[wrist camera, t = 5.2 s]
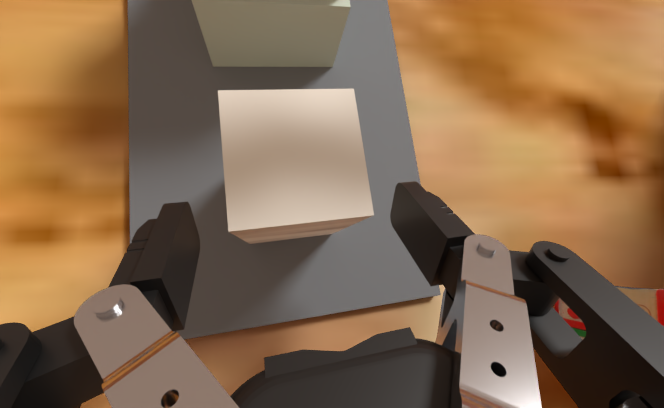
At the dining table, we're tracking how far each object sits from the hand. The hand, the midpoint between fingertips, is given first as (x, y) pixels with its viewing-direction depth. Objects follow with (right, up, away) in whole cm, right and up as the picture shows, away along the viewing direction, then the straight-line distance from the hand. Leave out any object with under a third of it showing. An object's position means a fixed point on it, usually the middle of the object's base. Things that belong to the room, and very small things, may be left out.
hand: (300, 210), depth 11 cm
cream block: (-2, +1, +6) cm, 7 cm away
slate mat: (-2, +7, +8) cm, 11 cm away
